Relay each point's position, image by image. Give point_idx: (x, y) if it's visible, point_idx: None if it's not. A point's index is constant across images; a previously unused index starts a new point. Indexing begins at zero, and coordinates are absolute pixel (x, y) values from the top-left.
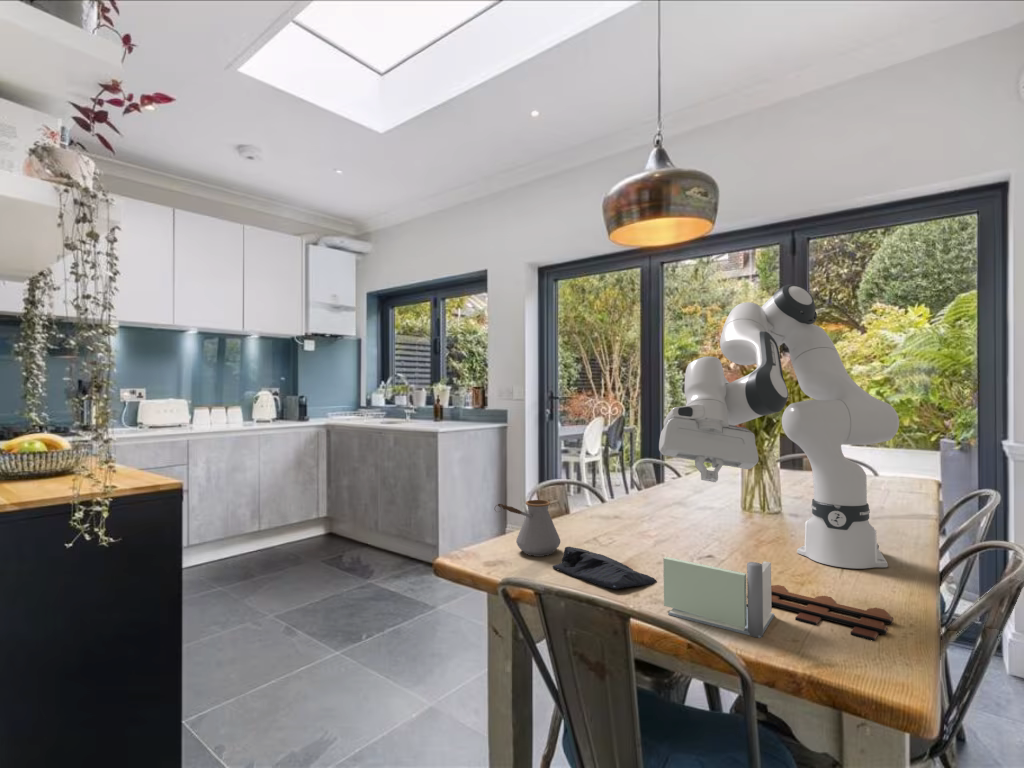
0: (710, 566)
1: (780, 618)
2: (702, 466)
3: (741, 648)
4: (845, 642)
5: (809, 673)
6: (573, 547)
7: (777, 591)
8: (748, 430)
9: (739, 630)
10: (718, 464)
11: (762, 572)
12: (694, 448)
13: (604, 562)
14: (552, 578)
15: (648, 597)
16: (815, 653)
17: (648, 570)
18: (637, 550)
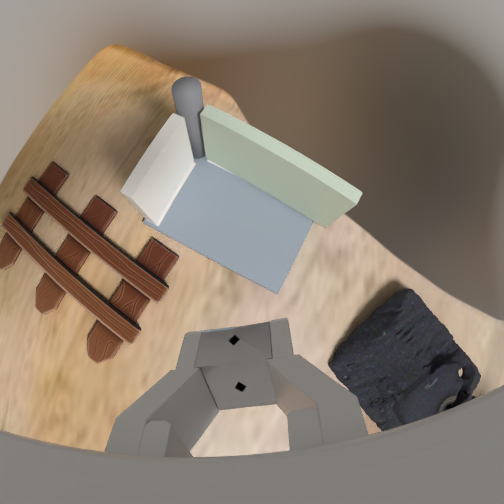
0: (265, 146)
1: (137, 214)
2: (309, 369)
3: (230, 111)
4: (87, 150)
5: (171, 72)
6: None
7: (107, 313)
8: None
9: None
10: (152, 427)
11: (164, 124)
12: (464, 453)
13: (428, 370)
14: (478, 331)
15: (349, 277)
16: (140, 113)
17: None
18: None
